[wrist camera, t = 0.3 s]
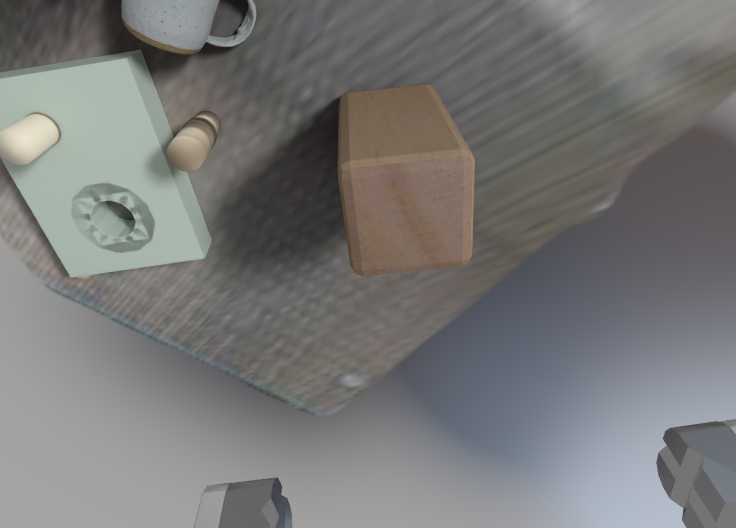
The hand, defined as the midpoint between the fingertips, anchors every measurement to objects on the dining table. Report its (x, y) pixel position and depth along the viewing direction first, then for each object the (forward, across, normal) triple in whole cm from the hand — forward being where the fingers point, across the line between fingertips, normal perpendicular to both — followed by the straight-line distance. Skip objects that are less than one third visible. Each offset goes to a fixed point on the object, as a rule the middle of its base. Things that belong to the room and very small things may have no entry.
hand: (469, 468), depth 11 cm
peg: (+46, +18, +5) cm, 50 cm away
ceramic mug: (+47, +15, -7) cm, 50 cm away
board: (+46, +30, +8) cm, 56 cm away
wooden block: (+47, -1, +9) cm, 47 cm away
